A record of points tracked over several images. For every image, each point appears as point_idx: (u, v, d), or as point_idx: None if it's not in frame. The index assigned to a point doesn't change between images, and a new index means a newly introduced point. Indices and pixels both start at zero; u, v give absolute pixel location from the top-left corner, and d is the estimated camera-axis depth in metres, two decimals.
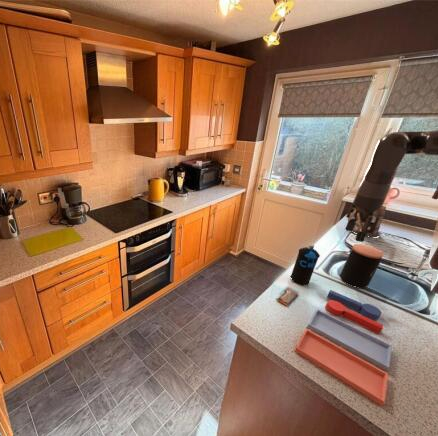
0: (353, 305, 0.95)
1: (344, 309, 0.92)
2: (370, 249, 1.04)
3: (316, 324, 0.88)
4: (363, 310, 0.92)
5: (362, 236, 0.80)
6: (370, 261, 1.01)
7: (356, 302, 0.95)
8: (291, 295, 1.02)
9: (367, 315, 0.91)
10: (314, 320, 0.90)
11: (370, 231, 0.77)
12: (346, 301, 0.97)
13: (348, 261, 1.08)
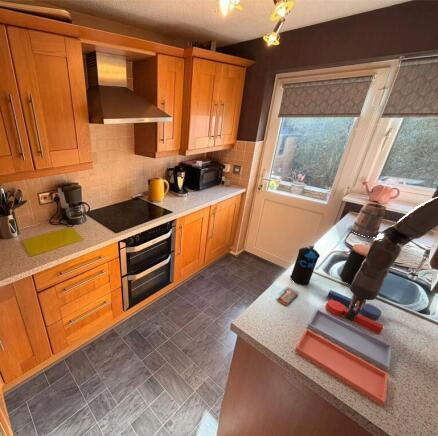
0: None
1: (344, 309, 0.92)
2: None
3: (316, 324, 0.88)
4: (363, 310, 0.92)
5: (350, 316, 0.89)
6: None
7: None
8: (291, 295, 1.02)
9: (367, 315, 0.91)
10: (314, 320, 0.90)
11: (354, 314, 0.87)
12: (346, 301, 0.97)
13: (348, 261, 1.08)
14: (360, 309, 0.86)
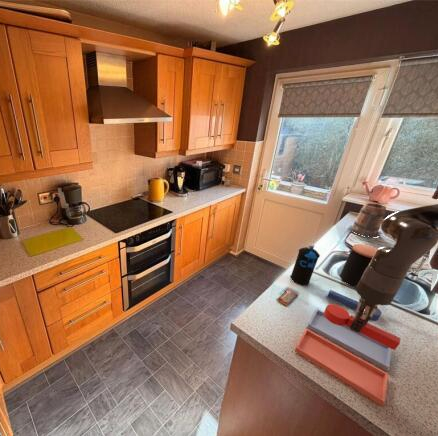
0: (353, 305, 0.95)
1: (348, 316, 0.71)
2: (370, 249, 1.04)
3: (316, 324, 0.88)
4: None
5: (356, 326, 0.68)
6: (370, 261, 1.01)
7: (356, 302, 0.95)
8: (291, 295, 1.02)
9: None
10: (314, 320, 0.90)
11: (361, 323, 0.66)
12: (346, 301, 0.97)
13: (348, 261, 1.08)
14: None
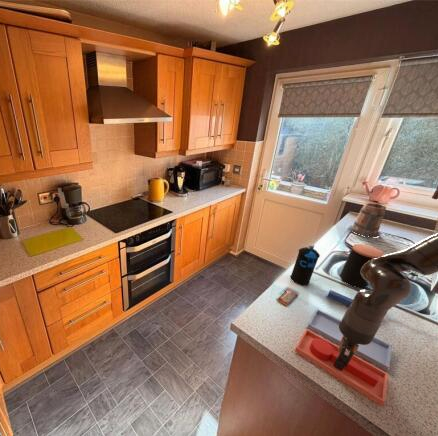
0: None
1: (332, 352, 0.75)
2: (370, 249, 1.04)
3: (316, 324, 0.88)
4: None
5: (338, 365, 0.70)
6: None
7: None
8: (291, 295, 1.02)
9: None
10: (314, 320, 0.90)
11: (343, 364, 0.67)
12: (346, 301, 0.97)
13: (348, 261, 1.08)
14: None
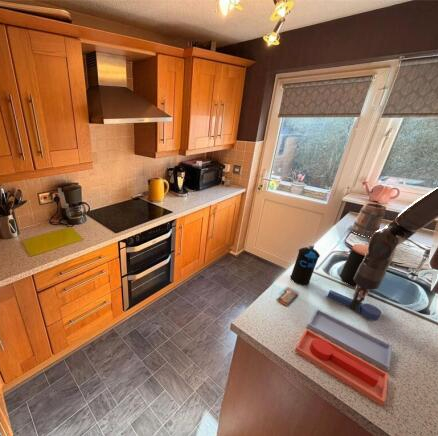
0: None
1: (332, 352, 0.75)
2: None
3: (316, 324, 0.88)
4: (363, 310, 0.92)
5: (353, 305, 0.94)
6: None
7: None
8: (291, 295, 1.02)
9: (367, 315, 0.91)
10: (314, 320, 0.90)
11: (357, 303, 0.92)
12: (346, 301, 0.97)
13: (348, 261, 1.08)
14: (363, 298, 0.91)
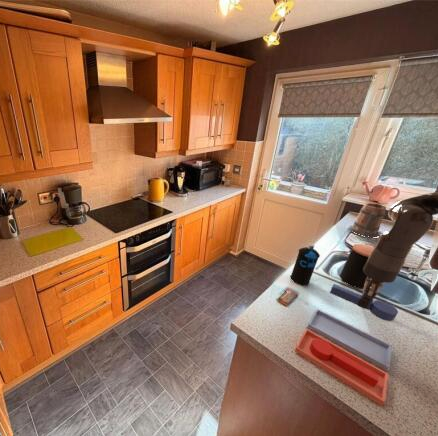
0: None
1: (332, 352, 0.75)
2: (370, 249, 1.04)
3: (316, 324, 0.88)
4: (375, 308, 0.75)
5: (363, 303, 0.77)
6: None
7: None
8: (291, 295, 1.02)
9: (380, 314, 0.74)
10: (314, 320, 0.90)
11: (368, 299, 0.74)
12: (353, 297, 0.80)
13: (348, 261, 1.08)
14: None
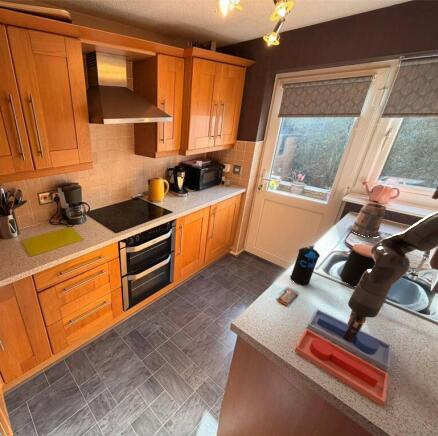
0: None
1: (332, 352, 0.75)
2: (370, 249, 1.04)
3: (316, 324, 0.88)
4: (358, 342, 0.79)
5: (348, 337, 0.79)
6: (370, 261, 1.01)
7: None
8: (291, 295, 1.02)
9: (362, 348, 0.78)
10: (314, 320, 0.90)
11: (352, 335, 0.76)
12: (338, 330, 0.84)
13: (348, 261, 1.08)
14: (360, 327, 0.77)
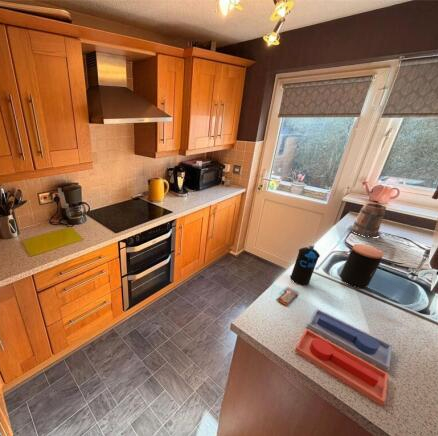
0: (346, 335, 0.82)
1: (332, 352, 0.75)
2: (370, 249, 1.04)
3: (316, 324, 0.88)
4: (358, 342, 0.79)
5: None
6: (370, 261, 1.01)
7: (350, 331, 0.82)
8: (291, 295, 1.02)
9: (362, 348, 0.78)
10: (314, 320, 0.90)
11: None
12: (338, 330, 0.84)
13: (348, 261, 1.08)
14: None
